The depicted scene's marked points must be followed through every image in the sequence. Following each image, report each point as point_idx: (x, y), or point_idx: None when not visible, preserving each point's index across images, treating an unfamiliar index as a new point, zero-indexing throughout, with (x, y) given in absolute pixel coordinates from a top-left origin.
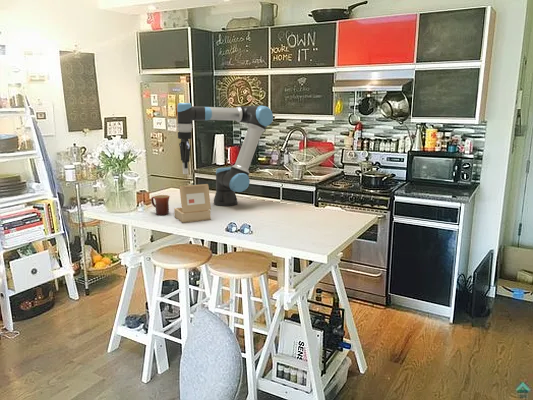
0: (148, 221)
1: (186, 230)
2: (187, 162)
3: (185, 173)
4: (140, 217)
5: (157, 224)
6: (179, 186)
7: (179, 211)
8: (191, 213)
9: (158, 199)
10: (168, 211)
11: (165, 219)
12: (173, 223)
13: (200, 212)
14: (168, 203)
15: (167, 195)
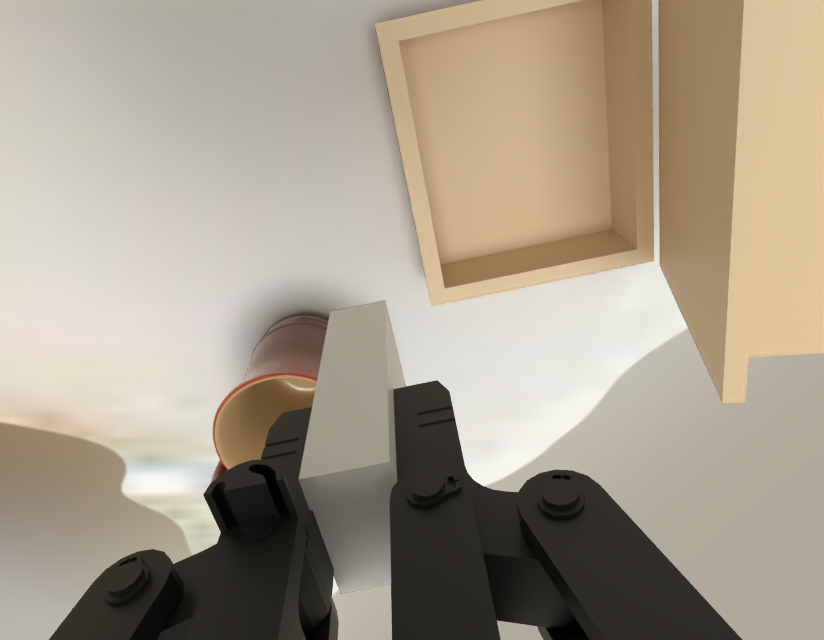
0: (493, 440)
1: None
2: (483, 491)
3: (396, 358)
4: None
5: (586, 394)
6: (724, 402)
7: (558, 274)
8: (651, 178)
9: None
10: (324, 322)
11: (476, 342)
12: (603, 299)
13: (650, 86)
14: (307, 351)
15: (241, 390)
